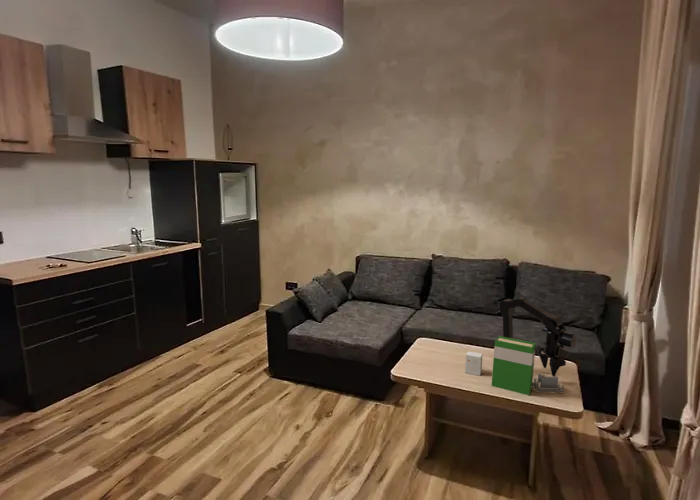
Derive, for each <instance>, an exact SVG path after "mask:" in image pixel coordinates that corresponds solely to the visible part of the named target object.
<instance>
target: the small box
mask: <svg viewBox="0 0 700 500" xmlns="http://www.w3.org/2000/svg"><path fill="white" fill-rule="evenodd" d="M482 369H483V353H481V352H475V351H467V352H466V354H465V367H464V373H465V374H469V375H473V376H477V377H478V376H479V377H481V374H482Z"/></svg>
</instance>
